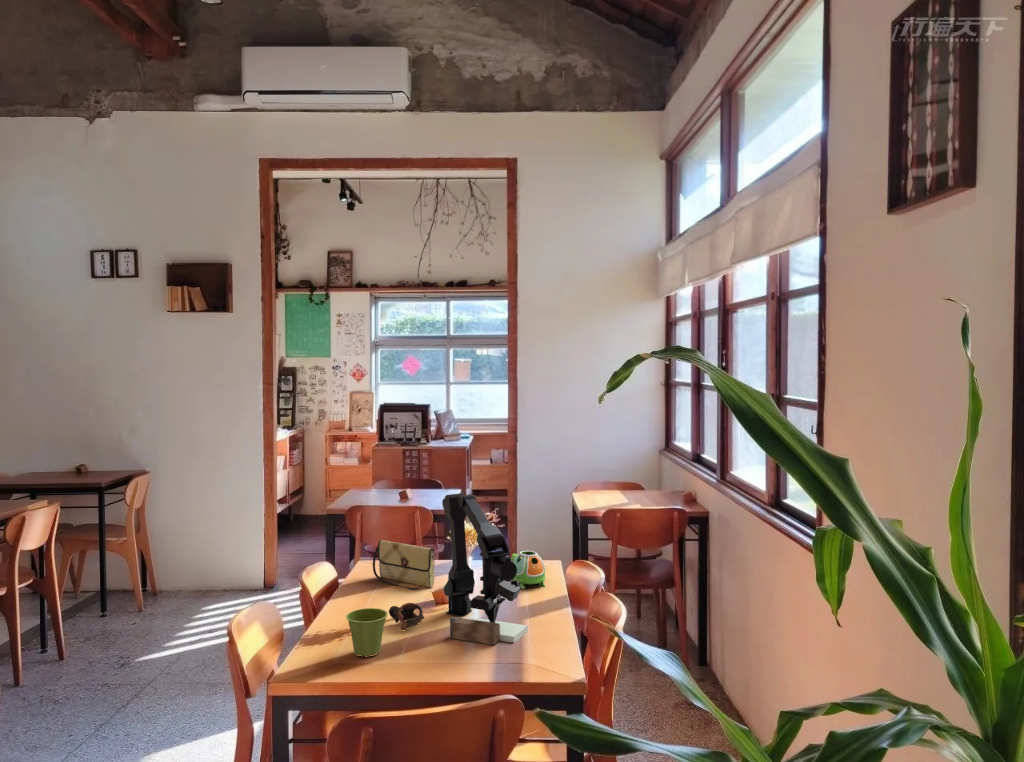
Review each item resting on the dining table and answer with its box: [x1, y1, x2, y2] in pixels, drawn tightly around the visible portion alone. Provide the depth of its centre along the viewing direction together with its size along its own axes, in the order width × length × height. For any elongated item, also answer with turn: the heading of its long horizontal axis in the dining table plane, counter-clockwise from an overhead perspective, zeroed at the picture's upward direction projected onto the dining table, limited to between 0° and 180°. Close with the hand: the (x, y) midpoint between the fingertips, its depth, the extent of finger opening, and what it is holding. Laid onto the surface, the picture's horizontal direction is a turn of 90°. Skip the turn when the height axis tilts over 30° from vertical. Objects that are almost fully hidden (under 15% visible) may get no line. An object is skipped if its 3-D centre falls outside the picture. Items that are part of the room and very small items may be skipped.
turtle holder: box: [511, 550, 546, 590], centre depth 276 cm, size 12×18×12 cm
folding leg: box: [449, 616, 501, 646], centre depth 220 cm, size 16×4×5 cm, turn 65°
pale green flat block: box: [467, 616, 529, 644], centre depth 226 cm, size 20×10×2 cm, turn 65°
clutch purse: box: [372, 539, 436, 590], centre depth 277 cm, size 30×7×15 cm, turn 56°
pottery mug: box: [388, 602, 425, 631], centre depth 233 cm, size 12×10×8 cm
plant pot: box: [345, 607, 389, 657], centre depth 211 cm, size 12×12×11 cm
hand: (492, 623), depth 225 cm, fingers closed
